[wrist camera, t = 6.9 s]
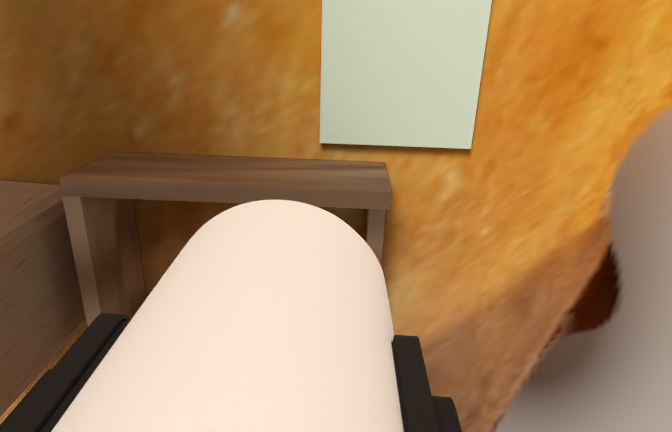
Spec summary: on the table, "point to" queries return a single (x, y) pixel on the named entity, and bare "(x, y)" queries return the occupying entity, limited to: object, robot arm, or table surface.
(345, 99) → the sage mat
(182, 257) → the can
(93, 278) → the walnut box
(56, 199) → the block
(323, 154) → the table surface
